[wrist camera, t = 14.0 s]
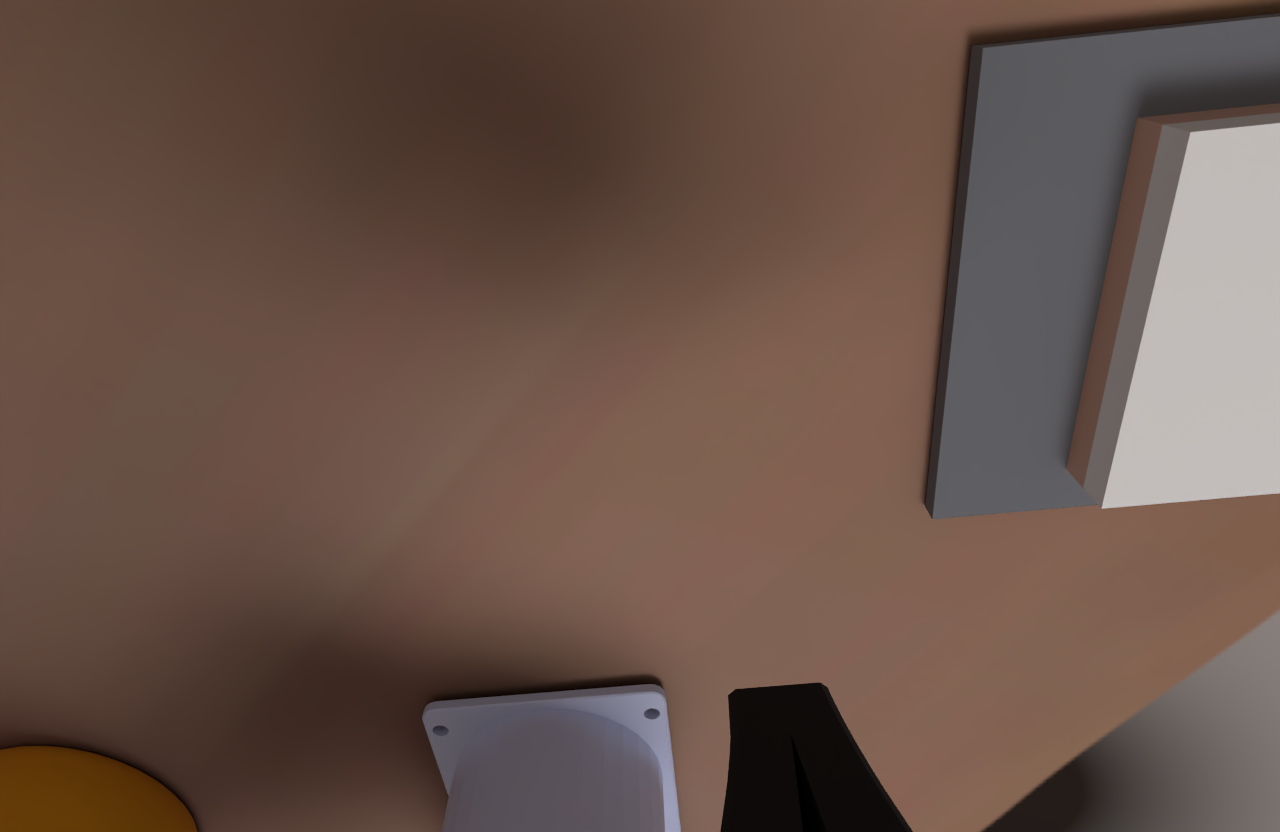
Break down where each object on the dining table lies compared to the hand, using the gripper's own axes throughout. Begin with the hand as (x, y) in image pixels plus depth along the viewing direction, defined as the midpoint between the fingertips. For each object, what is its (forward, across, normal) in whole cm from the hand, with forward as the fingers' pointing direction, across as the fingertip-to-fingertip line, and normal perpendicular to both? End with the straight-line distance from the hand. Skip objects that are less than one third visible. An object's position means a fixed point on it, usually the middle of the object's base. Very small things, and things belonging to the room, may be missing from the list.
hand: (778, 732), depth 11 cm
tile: (+9, -9, -2) cm, 13 cm away
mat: (+10, -11, -2) cm, 15 cm away
